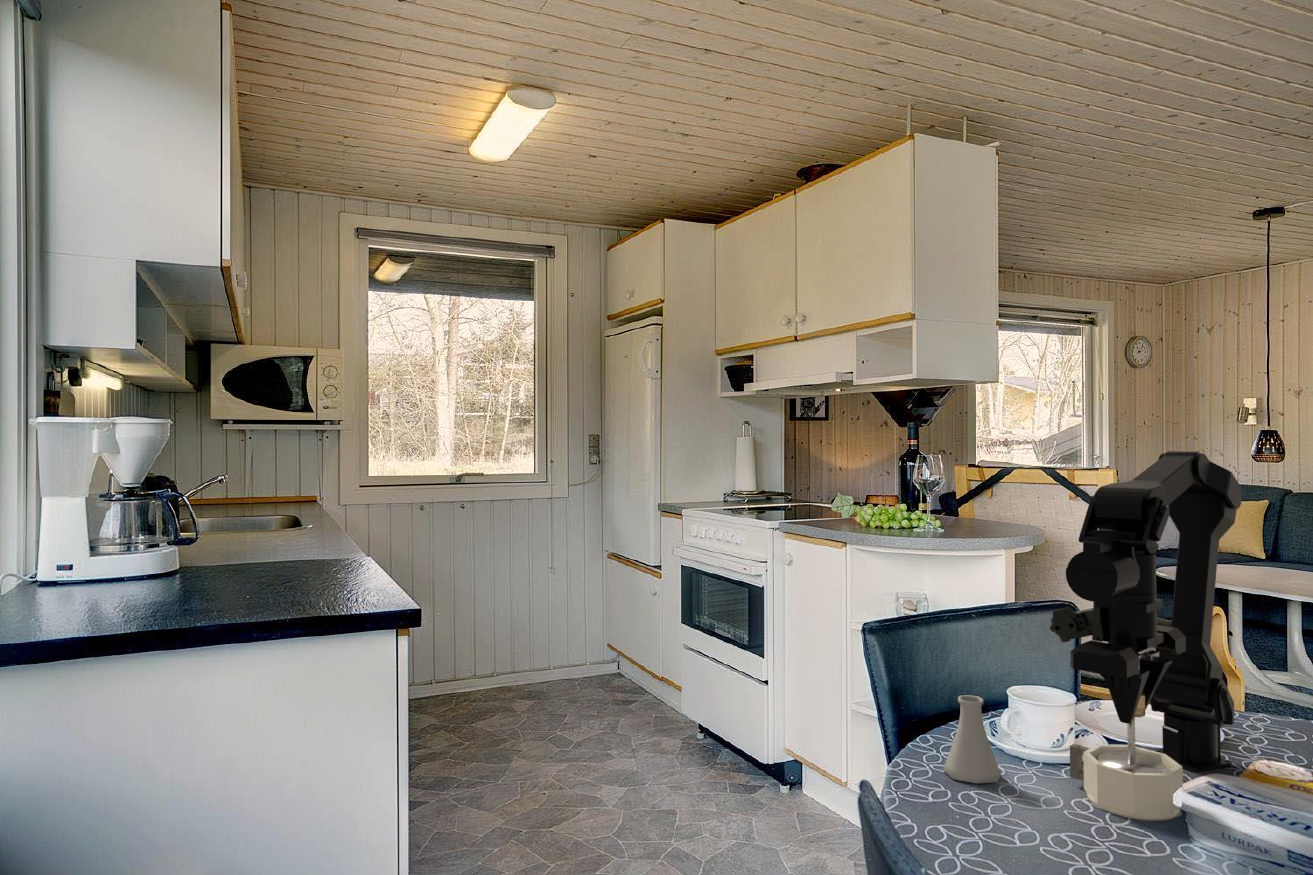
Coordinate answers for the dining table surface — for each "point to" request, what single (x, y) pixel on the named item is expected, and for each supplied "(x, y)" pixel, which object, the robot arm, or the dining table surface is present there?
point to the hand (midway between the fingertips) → (1131, 719)
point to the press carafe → (1127, 783)
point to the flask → (971, 746)
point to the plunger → (1133, 751)
